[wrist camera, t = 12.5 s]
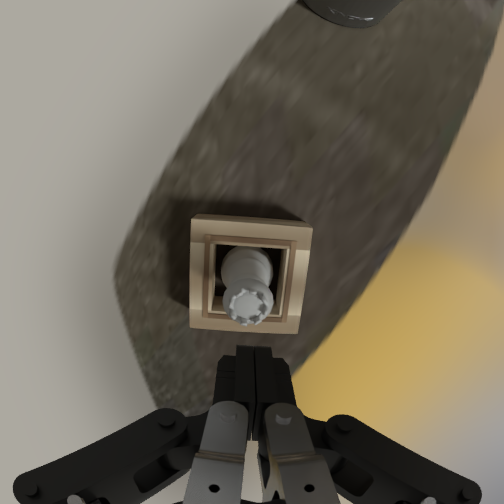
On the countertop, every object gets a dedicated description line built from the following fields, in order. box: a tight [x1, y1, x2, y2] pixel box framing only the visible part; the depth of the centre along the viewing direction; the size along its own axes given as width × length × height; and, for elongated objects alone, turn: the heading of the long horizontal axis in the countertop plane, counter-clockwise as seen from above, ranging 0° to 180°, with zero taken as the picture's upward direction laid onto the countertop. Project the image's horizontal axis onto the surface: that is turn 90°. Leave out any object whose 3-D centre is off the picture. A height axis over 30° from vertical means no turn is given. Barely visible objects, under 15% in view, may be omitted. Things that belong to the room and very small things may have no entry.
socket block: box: [190, 214, 313, 334], centre depth 24 cm, size 9×9×3 cm
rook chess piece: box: [221, 246, 273, 326], centre depth 22 cm, size 4×4×8 cm
